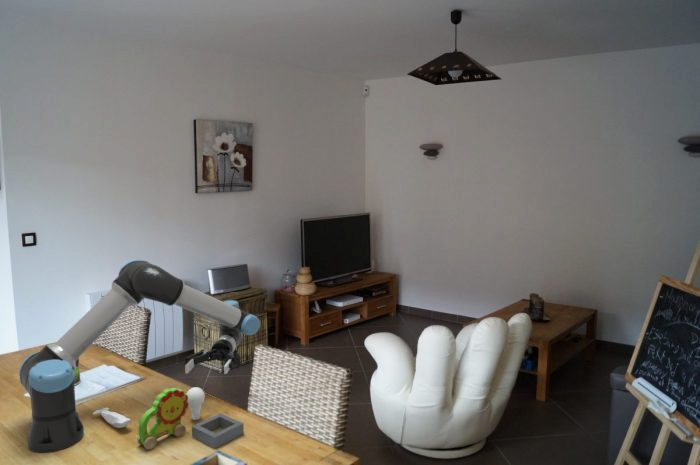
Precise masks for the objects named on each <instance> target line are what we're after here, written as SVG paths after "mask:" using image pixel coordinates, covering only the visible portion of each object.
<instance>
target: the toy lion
mask: <svg viewBox="0 0 700 465" xmlns="http://www.w3.org/2000/svg"><path fill="white" fill-rule="evenodd" d="M188 407H189V405H188V396H187V395H186V393H185V391H184V390H182V389H180V388H175V387H170V388H169V389H168V388H165V389H163V390H162V391H161V393H159V394H158V395H157V396H156V397H155V400H154V401H153V402H152V406H151V408H149V409H147V410H146V411H145V412H144V413H143V414H142V416H141V418H140V420H139V424H138V436H137V439H136V442H137V444H138V445H140V446H144V448H145V449H147V450H152V449H154V448H155V447H156V446H157V444H158V440H159V439H160V438H161V437H163V436H167V435H174V436H175V437H178V438H181V437H183V435H185V433H186V430H187V427H186V426H185V425H184V424H182V418H183V417H184V416H185V414H186V413H187V409H188ZM153 417H156V419H157V420H156V421H157V422H155V423H154V425H152V427H151V428H150V429H149V431H148V430H147V428H148V423H149V421H150V420H151V419H152V418H153Z"/></svg>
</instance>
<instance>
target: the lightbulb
mask: <svg viewBox="0 0 700 465" xmlns="http://www.w3.org/2000/svg"><path fill="white" fill-rule="evenodd" d="M185 394H186V395H187V396H188V407H189V410H190V413H191V419H192V420H194V421H198V420H199V419H200V418H201V410H202V409H201V408H202V405H203V403H204V401H205V397H206V395H205V392H204V390H203V389H202V388H201V387H197V386H196V387H195V386H194V387H191V388H190V389H188V390H187V391H186V393H185Z"/></svg>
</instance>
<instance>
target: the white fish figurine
mask: <svg viewBox="0 0 700 465" xmlns="http://www.w3.org/2000/svg"><path fill="white" fill-rule="evenodd" d="M109 409H110V407H103V408H99V409H97V410H95V411H94V412H93V413H92V415H101V417H102V418H103V419H104V420H105V421H106V423H108V424H109V425H110V426H112V427H114V428H116V429H121V428H125V427H128V425H129V424H131V420H132V419H131V418H129V417H126V416H125V415H123V414H120V413H118V412H115V411H111V410H110V411H109Z"/></svg>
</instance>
